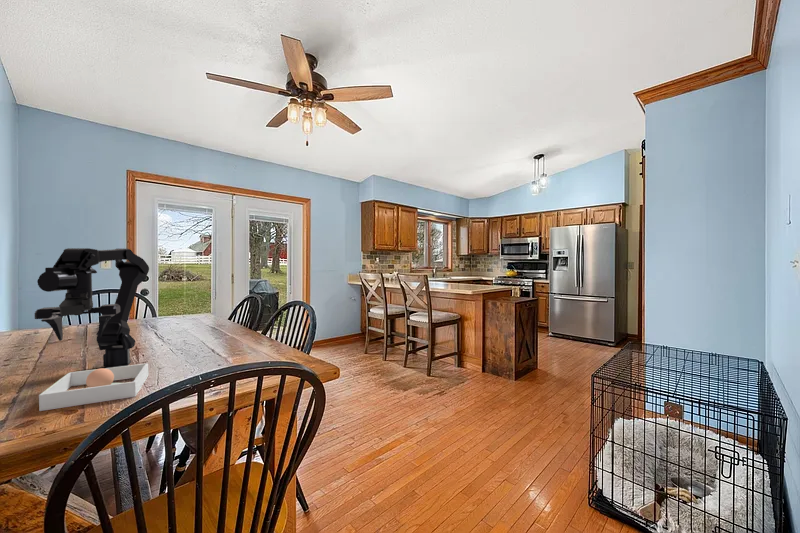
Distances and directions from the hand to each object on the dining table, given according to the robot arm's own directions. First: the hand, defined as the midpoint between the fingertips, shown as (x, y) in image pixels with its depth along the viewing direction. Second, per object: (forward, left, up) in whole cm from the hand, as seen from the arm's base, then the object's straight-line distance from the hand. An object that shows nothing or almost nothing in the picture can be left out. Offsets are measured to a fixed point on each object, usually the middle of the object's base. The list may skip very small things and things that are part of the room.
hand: (80, 338), depth 106 cm
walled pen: (-8, +14, -13) cm, 21 cm away
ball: (-8, +14, -13) cm, 20 cm away
